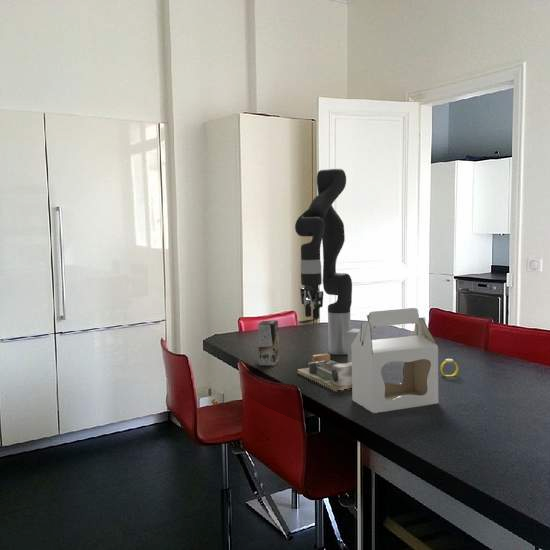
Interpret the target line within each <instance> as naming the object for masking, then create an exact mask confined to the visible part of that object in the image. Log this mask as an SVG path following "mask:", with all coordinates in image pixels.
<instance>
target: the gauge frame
mask: <svg viewBox="0 0 550 550" xmlns="http://www.w3.org/2000/svg"><path fill="white" fill-rule="evenodd" d="M333 361H334V362H336V365H332V371H328V370H326V369H323V368H321V367H319V366H317V365H316V373H313V374H310V373H309V367H304V368H303V367H302V368H298V369H297V374H298V375H300V376H302V377H304V378H306V377H307V378H306V379H308V378H309V379H308V380H310V379H311V380H310V381H312V380H313V381H312V382H314V381H315V382H314V383H316V382H317V383H316V384H318V383H319V384H318V385H320V384H321V386H322V385H323V386H322V387H324V386H325V387H324V388H326V387H327V388H326V389H328V388H329V389H328V390H330V389H331V390H330V391H332V390H333V391H332V392H334V391H335V392H338V391H337V390H341V391H345V390H344V389H347V390H351V389H350V388H352V362H349V363H348V362H344V363H343V362H342V363H340V362H337V361H335V360H333Z"/></svg>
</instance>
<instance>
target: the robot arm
mask: <svg viewBox="0 0 550 550" xmlns="http://www.w3.org/2000/svg"><path fill="white" fill-rule="evenodd" d="M346 184H347V175H346V172H345V170H344V169H342V168H329V169H328V168H327V169H320V170H319V171H318V172H317V174H316V186H317V187H316V189H317V196H316V197H314V198H313V199H312V201H311V203H310V205H309V207H308V209H307V210H305V211H304V212H303V213H302V214H301V215H300V216H298V217H297V220H296V222H295V225H294V230H295V233H296V235H298V236H300V237H303V238H304V237H305V238H306V237H312V239H311V240H310V242H305V243H303V244H302V245H300V284H301V286H304V287H303V288H302V287H301V288H300V289H299V290H300V299H301V304H302V305H303V306H304V311H305V312H304V313H305V314H304V315H305V317H307V318H309V317H312V319H313V320H318V319H320V309H321V308H323V304H324V303H323V302H324V292H325V293H326V294H327V295H330V296H337V298H336V301H335V302H332V303H330V304H328V305H327V327H328V329H327V331H328V336H327V337H328V353H329V354H330V355H335V356H344V355H348V344H347V332H348V331H350V330H351V327H352V326H351V325H352V324H351V306H352V303H353V302H352V295H353V281H352V280H353V279H352V277H351V275H350V274H349V273H345V272H336V271H337V270H336V265H337V259H338V256H339V254H340V252H341V251H342V248H343V246H344V244H345V241H346V240H345V239H346V237H345V236H346V235H345V225H344V222H343V220H342V218H341V217H340V215H339V214H338V212H337V211H336V210H335V208H334V206H333V203H334V202H335V201H336V200H337V198H339V196H340V195H341V194H342V193H343V191H344V190H345V188H346ZM321 245H322V258H323V261H322V262H321ZM322 263H323V266H322ZM322 268H323V269H322ZM321 285H322V286H323V290H321V291H320V289H319V286H321Z"/></svg>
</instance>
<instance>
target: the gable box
mask: <svg viewBox="0 0 550 550" xmlns="http://www.w3.org/2000/svg"><path fill="white" fill-rule="evenodd" d="M366 318H367V321H365V322H362V323H360V328H359V329H360V331H359V332H358V334H357V336H356V338H355V339H354V341H353V343H352V345H351V349H352V389H351V393H352V394H351V397H352V401H353V402H354V403H356V404H357V405H359V406H361V407H362V406H363V407H362V408H364V409H366V410H367V411H369V412H371V413H372V414H378V413H379V412H380V413H385V412H391V411H397V410H405V409H410V408H412V409H413V408H417V407H424V406H431V405H438V404H439V344H438V343H437V342H436V339H435V337H434V336H433V334H432V333H431V330H430V329H429V327H428V325H427V324H426V323H427V322H426V317H420V316H419V310H418V308H416V307H411V308H409V307H407V308H397V309H390V310H389V309H388V310H387V309H386V310H377V311H370V312H369V314H367V315H366ZM406 324H407V325H408V324H412V325H413V324H414V332H413V335H409V336H400V337H389V338H379V339H373V337H372V329H373V328H377V327H388V326H389V327H390V326H397V325H406ZM394 362H401V363H402V362H404V363H403V368H402V375H403V379H402V382H400V383H391V382H384V381H385V380H384V379H383V376H382V375H383V374H382V368H383V367H384V366H385V365H386V364H389V363H394Z"/></svg>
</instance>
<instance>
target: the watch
mask: <svg viewBox="0 0 550 550" xmlns="http://www.w3.org/2000/svg"><path fill="white" fill-rule="evenodd" d="M447 363H448V364H449V363H453V364H454V365H455V371H454V373H452V374H445V373H444V371H443V369H444V366H445V364H447ZM439 370H440V373H441V375H442V376H444V377H445V378H449V377H451V378H453V377H456V375H457V374H458V372H459V365H458V364H457V362H456V361H454V359H453V358H446V359H444V361H443V362H441V364H440V369H439Z"/></svg>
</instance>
